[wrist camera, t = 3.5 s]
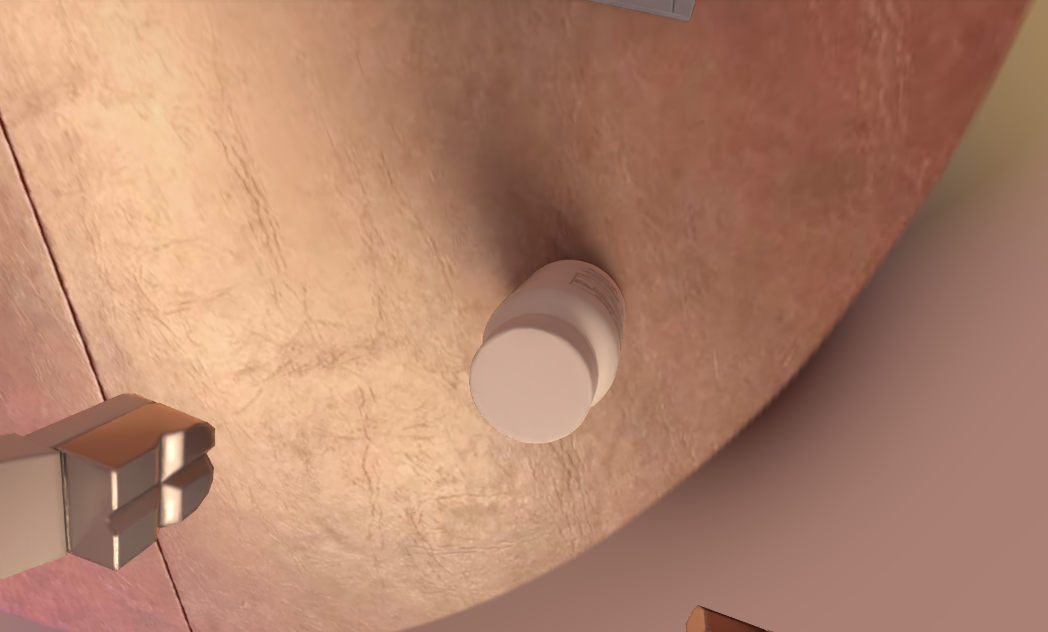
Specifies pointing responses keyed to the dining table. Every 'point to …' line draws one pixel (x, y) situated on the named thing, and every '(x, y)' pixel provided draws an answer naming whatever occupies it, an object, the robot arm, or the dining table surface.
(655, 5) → the blue bin
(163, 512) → the robot arm
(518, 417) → the pill bottle
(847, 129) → the dining table surface
